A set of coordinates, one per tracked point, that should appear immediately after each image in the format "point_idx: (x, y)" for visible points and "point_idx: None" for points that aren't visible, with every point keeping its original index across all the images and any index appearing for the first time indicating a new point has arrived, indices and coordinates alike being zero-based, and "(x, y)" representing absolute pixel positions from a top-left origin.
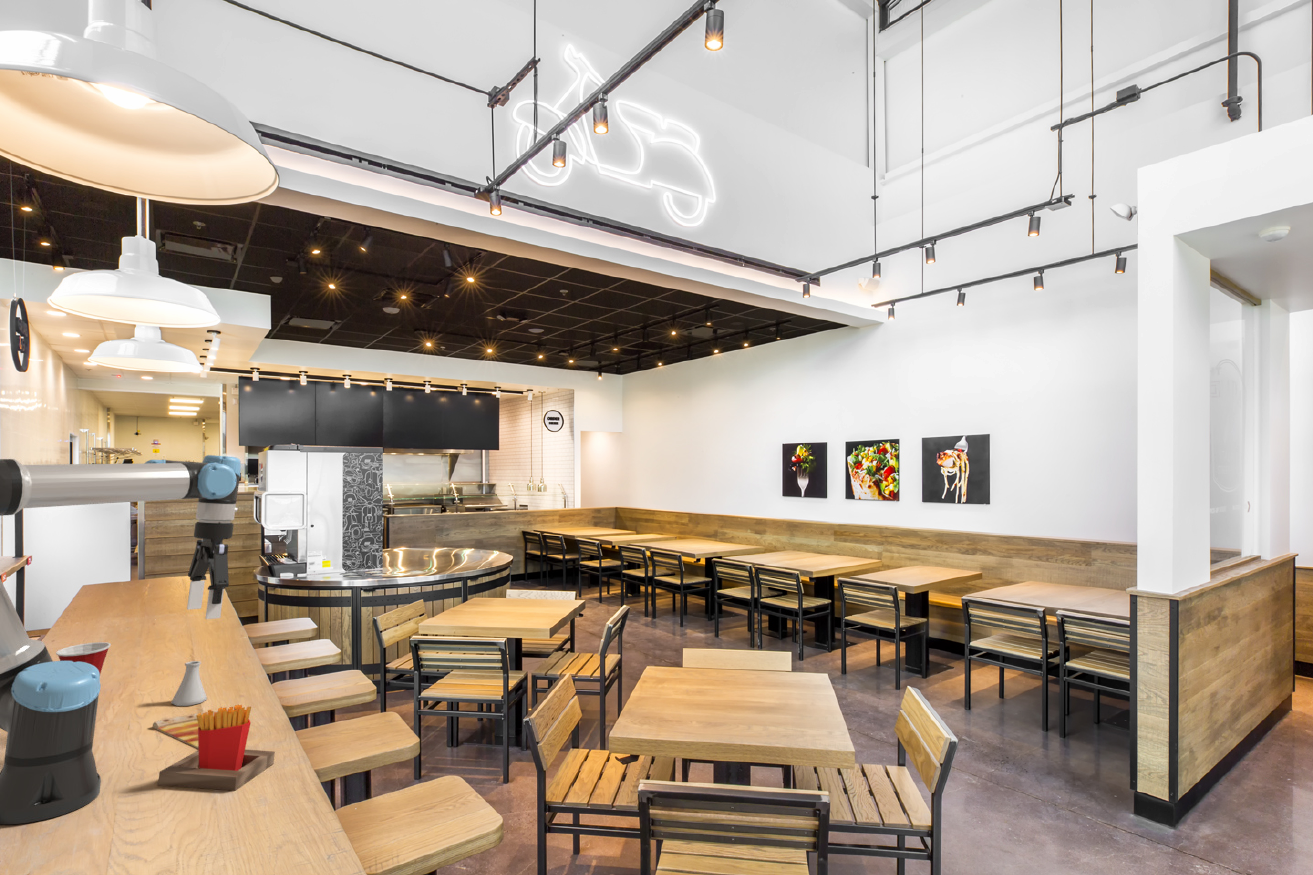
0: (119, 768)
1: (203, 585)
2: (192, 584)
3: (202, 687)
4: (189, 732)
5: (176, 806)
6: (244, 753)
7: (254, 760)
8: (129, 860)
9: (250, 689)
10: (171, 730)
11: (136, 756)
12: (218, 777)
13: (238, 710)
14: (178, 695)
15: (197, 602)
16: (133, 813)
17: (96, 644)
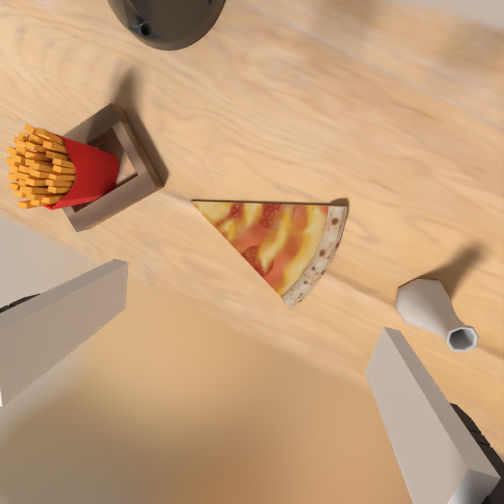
0: (215, 99)
1: (410, 491)
2: (447, 449)
3: (418, 326)
4: (269, 223)
5: (49, 94)
6: (95, 205)
7: None
8: None
9: None
10: (299, 212)
11: (242, 135)
12: None
13: (16, 184)
14: (430, 289)
15: (381, 379)
16: (62, 51)
17: None
